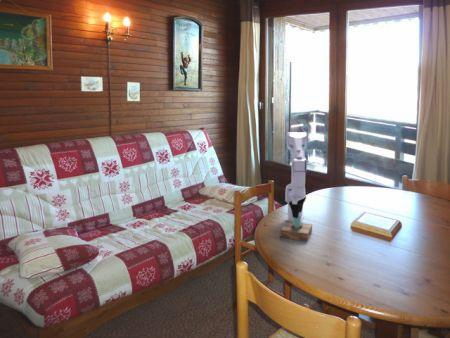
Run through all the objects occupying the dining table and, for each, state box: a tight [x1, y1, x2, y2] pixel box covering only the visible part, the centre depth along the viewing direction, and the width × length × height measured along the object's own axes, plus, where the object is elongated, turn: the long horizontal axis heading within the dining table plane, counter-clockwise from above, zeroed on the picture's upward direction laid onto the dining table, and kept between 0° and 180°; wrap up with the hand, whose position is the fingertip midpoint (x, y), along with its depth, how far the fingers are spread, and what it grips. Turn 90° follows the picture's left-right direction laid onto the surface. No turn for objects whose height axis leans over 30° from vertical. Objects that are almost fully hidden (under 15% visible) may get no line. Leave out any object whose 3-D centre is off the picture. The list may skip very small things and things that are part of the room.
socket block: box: [280, 221, 313, 242], centre depth 179 cm, size 12×12×4 cm
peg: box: [294, 215, 302, 229], centre depth 178 cm, size 3×3×9 cm
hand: (297, 214), depth 177 cm, fingers open, 7 cm apart
